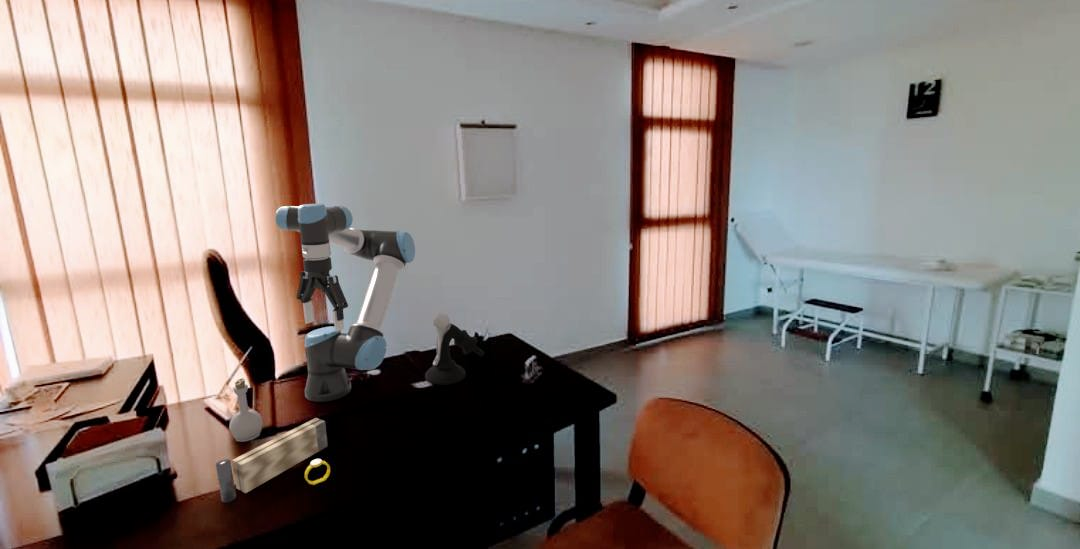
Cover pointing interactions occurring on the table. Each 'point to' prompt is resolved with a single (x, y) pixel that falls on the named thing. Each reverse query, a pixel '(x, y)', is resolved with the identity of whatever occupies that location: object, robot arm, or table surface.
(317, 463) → the gold ring
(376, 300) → the robot arm
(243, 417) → the potion bottle
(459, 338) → the sculpture
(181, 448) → the table surface
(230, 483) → the post
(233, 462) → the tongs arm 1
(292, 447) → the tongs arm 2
